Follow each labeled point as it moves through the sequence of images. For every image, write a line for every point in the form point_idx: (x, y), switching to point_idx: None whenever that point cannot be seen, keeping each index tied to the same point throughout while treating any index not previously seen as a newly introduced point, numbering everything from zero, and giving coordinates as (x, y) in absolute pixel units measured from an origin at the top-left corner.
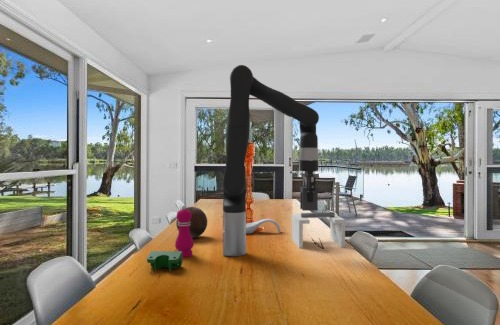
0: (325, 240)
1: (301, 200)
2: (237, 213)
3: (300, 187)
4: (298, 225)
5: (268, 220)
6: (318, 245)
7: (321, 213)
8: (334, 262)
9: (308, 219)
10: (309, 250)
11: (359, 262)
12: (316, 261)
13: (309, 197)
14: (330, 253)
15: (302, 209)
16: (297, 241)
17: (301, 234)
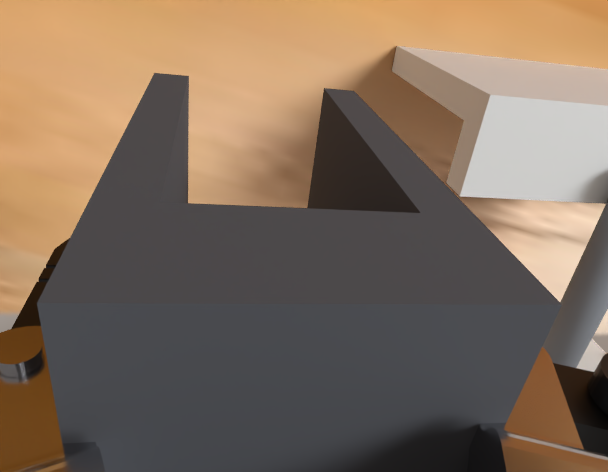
0: (522, 259)
1: (353, 147)
2: None
3: (524, 293)
4: (498, 84)
5: None
6: None
7: (567, 340)
8: (5, 159)
9: (495, 195)
10: (319, 97)
11: (18, 283)
12: (22, 53)
13: (39, 284)
14: (225, 200)
15: (172, 78)
16: (472, 58)
17: (428, 84)
